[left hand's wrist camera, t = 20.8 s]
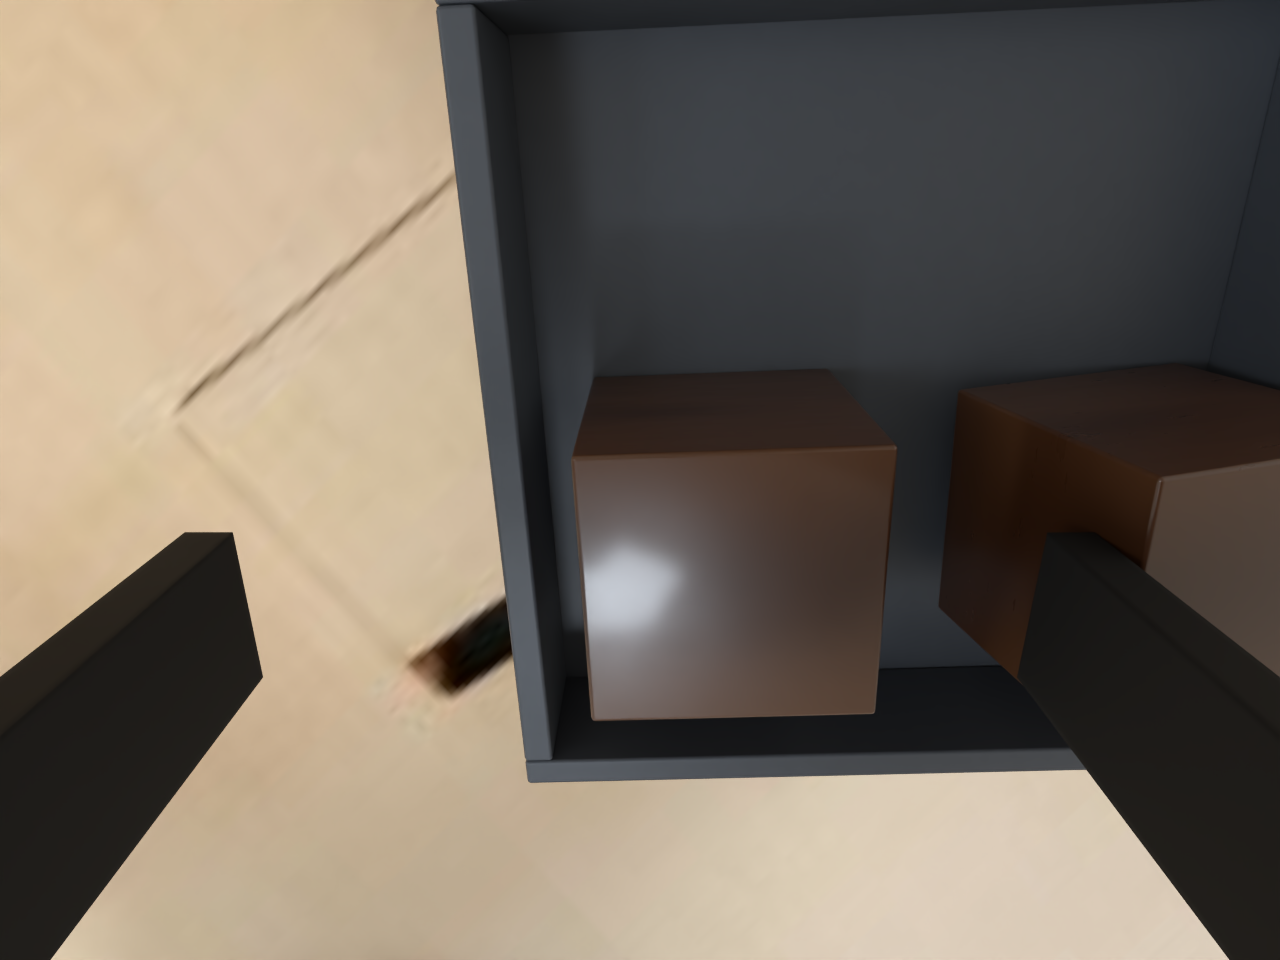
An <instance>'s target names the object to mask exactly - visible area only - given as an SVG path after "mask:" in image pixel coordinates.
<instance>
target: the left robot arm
mask: <svg viewBox="0 0 1280 960" xmlns="http://www.w3.org/2000/svg"><path fill="white" fill-rule="evenodd" d="M262 678H263V675H262V670H261V665H260V661H259V656H258V651H257V646H256V641H255V637H254V632H253V627H252V622H251V618H250V613H249V608H248V603H247V598H246V594H245V589H244V584H243V579H242V575H241V570H240V565H239V560H238V555H237V551H236V546H235V541H234V536H233V532H185V533H183V534H182V535H181V536H180V537H178V538H177V539H176V540H174V541H173V542H172V543H171V544H169V545H168V546H167V547H166V548H164V549H163V550H162V551H160V552H159V553H158V554H157V555H155V556H154V557H153V558H152V559H150V560H149V561H148V562H146V563H145V564H144V565H143V566H141V567H140V568H139V569H137V570H136V571H135V572H134V573H132V574H131V575H130V576H129V577H127V578H126V579H125V580H123V581H122V582H121V583H120V584H118V585H117V586H116V587H114V588H113V589H112V590H111V591H109V592H108V593H107V594H106V595H104V596H103V597H102V598H100V599H99V600H98V601H97V602H95V603H94V604H93V605H91V606H90V607H89V608H88V609H86V610H85V611H84V612H83V613H81V614H80V615H79V616H77V617H76V618H75V619H74V620H72V621H71V622H70V623H68V624H67V625H66V626H65V627H63V628H62V629H61V630H60V631H58V632H57V633H56V634H54V635H53V636H52V637H51V638H49V639H48V640H47V641H45V642H44V643H43V644H42V645H40V646H39V647H38V648H37V649H35V650H34V651H33V652H31V653H30V654H29V655H28V656H26V657H25V658H24V659H23V660H21V661H20V662H19V663H17V664H16V665H15V666H14V667H12V668H11V669H10V670H8V671H7V672H6V673H5V674H3V675H2V676H1V677H0V960H51V958H52V957H53V956H54V954H55V953H56V952H57V950H58V949H59V948H60V946H61V945H62V944H63V942H64V941H65V940H66V938H67V937H68V936H69V934H70V933H71V932H72V930H73V929H74V928H75V926H76V925H77V924H78V922H79V921H80V920H81V918H82V917H83V916H84V915H85V913H86V912H87V911H88V909H89V908H90V907H91V905H92V904H93V903H94V901H95V900H96V899H97V897H98V896H99V895H100V893H101V892H102V891H103V889H104V888H105V887H106V885H107V884H108V883H109V881H110V880H111V879H112V877H113V876H114V875H115V873H116V872H117V871H118V869H119V868H120V867H121V865H122V864H123V863H124V861H125V860H126V859H127V857H128V856H129V855H130V853H131V852H132V851H133V849H134V848H135V847H136V845H137V844H138V843H139V841H140V840H141V839H142V837H143V836H144V835H145V833H146V832H147V831H148V829H149V828H150V827H151V825H152V824H153V823H154V821H155V820H156V819H157V817H158V816H159V815H160V813H161V812H162V811H163V809H164V808H165V807H166V805H167V804H168V803H169V802H170V800H171V799H172V798H173V796H174V795H175V794H176V792H177V791H178V790H179V788H180V787H181V786H182V784H183V783H184V782H185V780H186V779H187V778H188V776H189V775H190V774H191V772H192V771H193V770H194V768H195V767H196V766H197V764H198V763H199V762H200V760H201V759H202V758H203V756H204V755H205V754H206V752H207V751H208V750H209V748H210V747H211V746H212V744H213V743H214V742H215V740H216V739H217V738H218V736H219V735H220V734H221V732H222V731H223V730H224V728H225V727H226V726H227V724H228V723H229V722H230V720H231V719H232V718H233V716H234V715H235V714H236V712H237V711H238V710H239V708H240V707H241V706H242V704H243V703H244V702H245V700H246V699H247V698H248V696H249V695H250V694H251V692H252V691H253V690H254V689H255V687H256V686H257V685H258V683H259V682H260V681H261V679H262ZM1017 678H1018V679H1019V681H1020V682H1021V683H1022V685H1023V686H1024V687H1025V689H1026V690H1027V691H1028V693H1029V694H1030V695H1031V697H1032V698H1033V699H1034V701H1035V702H1036V703H1037V705H1038V706H1039V707H1040V709H1041V710H1042V711H1043V713H1044V714H1045V715H1046V717H1047V718H1048V719H1049V721H1050V722H1051V723H1052V725H1053V726H1054V727H1055V729H1056V730H1057V731H1058V733H1059V734H1060V735H1061V737H1062V738H1063V739H1064V740H1065V742H1066V743H1067V744H1068V746H1069V747H1070V748H1071V750H1072V751H1073V752H1074V754H1075V755H1076V756H1077V758H1078V759H1079V760H1080V762H1081V763H1082V764H1083V766H1084V767H1085V768H1086V770H1087V771H1088V772H1089V774H1090V775H1091V776H1092V778H1093V779H1094V780H1095V782H1096V783H1097V784H1098V786H1099V787H1100V788H1101V790H1102V791H1103V792H1104V794H1105V795H1106V796H1107V798H1108V799H1109V800H1110V802H1111V803H1112V804H1113V806H1114V807H1115V808H1116V810H1117V811H1118V812H1119V814H1120V815H1121V816H1122V818H1123V819H1124V820H1125V822H1126V823H1127V824H1128V826H1129V827H1130V828H1131V830H1132V831H1133V832H1134V834H1135V835H1136V836H1137V838H1138V839H1139V840H1140V842H1141V843H1142V844H1143V845H1144V847H1145V848H1146V849H1147V851H1148V852H1149V853H1150V855H1151V856H1152V857H1153V859H1154V860H1155V861H1156V863H1157V864H1158V865H1159V867H1160V868H1161V869H1162V871H1163V872H1164V873H1165V875H1166V876H1167V877H1168V879H1169V880H1170V881H1171V883H1172V884H1173V885H1174V887H1175V888H1176V889H1177V891H1178V892H1179V893H1180V895H1181V896H1182V897H1183V899H1184V900H1185V901H1186V903H1187V904H1188V905H1189V907H1190V908H1191V909H1192V911H1193V912H1194V913H1195V915H1196V916H1197V917H1198V919H1199V920H1200V921H1201V923H1202V924H1203V925H1204V927H1205V928H1206V929H1207V931H1208V932H1209V933H1210V935H1211V936H1212V937H1213V939H1214V940H1215V941H1216V943H1217V944H1218V945H1219V947H1220V948H1221V949H1222V950H1223V952H1224V953H1225V954H1226V956H1227V957H1228V958H1229V960H1280V677H1279V676H1278V675H1277V674H1275V673H1274V672H1273V671H1271V670H1270V669H1269V668H1268V667H1266V666H1265V665H1264V664H1263V663H1261V662H1260V661H1259V660H1257V659H1256V658H1255V657H1254V656H1252V655H1251V654H1250V653H1248V652H1247V651H1246V650H1245V649H1243V648H1242V647H1241V646H1240V645H1238V644H1237V643H1236V642H1234V641H1233V640H1232V639H1231V638H1229V637H1228V636H1227V635H1225V634H1224V633H1223V632H1222V631H1220V630H1219V629H1218V628H1217V627H1215V626H1214V625H1213V624H1211V623H1210V622H1209V621H1208V620H1206V619H1205V618H1204V617H1202V616H1201V615H1200V614H1199V613H1197V612H1196V611H1195V610H1194V609H1192V608H1191V607H1190V606H1188V605H1187V604H1186V603H1185V602H1183V601H1182V600H1181V599H1179V598H1178V597H1177V596H1176V595H1174V594H1173V593H1172V592H1171V591H1169V590H1168V589H1167V588H1165V587H1164V586H1163V585H1162V584H1160V583H1159V582H1158V581H1156V580H1155V579H1154V578H1153V577H1151V576H1150V575H1149V574H1148V573H1146V572H1145V571H1144V570H1142V569H1141V568H1140V567H1139V566H1137V565H1136V564H1135V563H1133V562H1132V561H1131V560H1130V559H1128V558H1127V557H1126V556H1125V555H1123V554H1122V553H1121V552H1119V551H1118V550H1117V549H1116V548H1114V547H1113V546H1112V545H1110V544H1109V543H1108V542H1107V541H1105V540H1104V539H1103V538H1102V537H1100V536H1099V535H1098V534H1096V533H1095V532H1047V536H1046V541H1045V545H1044V550H1043V555H1042V560H1041V564H1040V569H1039V574H1038V579H1037V584H1036V588H1035V593H1034V598H1033V603H1032V608H1031V612H1030V617H1029V622H1028V627H1027V631H1026V636H1025V641H1024V646H1023V651H1022V655H1021V660H1020V665H1019V670H1018V674H1017Z"/></svg>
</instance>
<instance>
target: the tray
mask: <svg viewBox="0 0 1280 960" xmlns="http://www.w3.org/2000/svg"><path fill="white" fill-rule="evenodd" d="M435 1H436V3H437V4H438V5H439V6H438V7H437V10H436V14H437V22H438V31H439V39H440V48H441V56H442V64H443V73H444V81H445V89H446V98H447V106H448V115H449V123H450V131H451V140H452V148H453V157H454V165H455V173H456V182H457V190H458V199H459V207H460V215H461V224H462V232H463V241H464V249H465V257H466V266H467V274H468V283H469V291H470V299H471V308H472V316H473V325H474V333H475V341H476V350H477V358H478V366H479V375H480V383H481V392H482V400H483V408H484V417H485V425H486V434H487V442H488V450H489V459H490V467H491V476H492V484H493V492H494V501H495V509H496V518H497V526H498V534H499V543H500V551H501V560H502V568H503V576H504V585H505V593H506V602H507V610H508V618H509V627H510V635H511V644H512V652H513V660H514V669H515V677H516V685H517V694H518V702H519V711H520V719H521V727H522V736H523V744H524V753H525V758H526V769H527V778H528V781H529V782H530V783H539V782H582V781H624V780H667V779H709V778H752V777H794V776H837V775H879V774H922V773H964V772H1007V771H1049V770H1086V768H1085V767H1084V766H1083V764H1082V763H1081V762H1080V760H1079V759H1078V758H1077V756H1076V755H1075V754H1074V752H1073V751H1072V750H1071V748H1070V747H1069V746H1068V744H1067V743H1066V742H1065V740H1064V739H1063V738H1062V737H1061V735H1060V734H1059V733H1058V731H1057V730H1056V729H1055V727H1054V726H1053V725H1052V723H1051V722H1050V721H1049V719H1048V718H1047V717H1046V715H1045V714H1044V713H1043V711H1042V710H1041V709H1040V707H1039V706H1038V705H1037V703H1036V702H1035V701H1034V699H1033V698H1032V697H1031V695H1030V694H1029V693H1028V691H1027V690H1026V689H1025V687H1024V686H1023V685H1022V684H1021V683H1020V682H1019V681H1018V680H1017V679H1015V678H1014V677H1013V676H1012V675H1011V674H1010V673H1009V672H1008V671H1007V670H1006V669H1005V668H1003V667H1002V666H1001V665H1000V664H999V663H998V662H997V661H996V660H995V659H994V658H993V657H992V656H990V655H989V654H988V653H987V652H986V651H985V650H984V649H983V648H982V647H981V646H980V645H979V644H977V643H976V642H975V641H974V640H973V639H972V638H971V637H970V636H969V635H968V634H967V633H966V632H964V631H963V630H962V629H961V628H960V627H959V626H958V625H957V624H956V623H955V622H954V621H952V620H951V619H950V618H949V617H948V616H947V615H946V614H945V613H944V612H943V611H942V610H941V609H939V606H938V602H939V591H940V580H941V570H942V559H943V548H944V537H945V527H946V516H947V505H948V494H949V484H950V473H951V462H952V451H953V441H954V430H955V419H956V408H957V398H958V392H959V390H962V389H969V388H977V387H985V386H993V385H1001V384H1010V383H1018V382H1026V381H1034V380H1042V379H1050V378H1058V377H1067V376H1075V375H1083V374H1091V373H1099V372H1107V371H1115V370H1123V369H1132V368H1140V367H1148V366H1156V365H1164V364H1172V363H1178V364H1182V365H1186V366H1189V367H1193V368H1197V369H1201V370H1204V371H1208V372H1212V373H1216V374H1220V375H1223V376H1227V377H1231V378H1235V379H1239V380H1242V381H1246V382H1250V383H1254V384H1257V385H1261V386H1265V387H1269V388H1273V389H1276V390H1280V0H435ZM806 369H828V370H829V371H830V372H831V373H832V374H833V375H834V376H835V377H836V378H837V380H838V381H839V382H840V383H841V384H842V385H843V386H844V387H845V388H846V390H847V391H848V392H849V393H850V394H851V395H852V396H853V397H854V398H855V400H856V401H857V402H858V403H859V404H860V405H861V406H862V407H863V409H864V410H865V411H866V412H867V413H868V414H869V415H870V416H871V417H872V419H873V420H874V421H875V422H876V423H877V424H878V425H879V426H880V427H881V429H882V430H883V431H884V432H885V433H886V434H887V435H888V436H889V437H890V439H891V440H892V441H893V442H894V443H895V444H896V445H897V448H898V450H897V461H896V473H895V485H894V497H893V509H892V520H891V532H890V544H889V556H888V567H887V579H886V591H885V603H884V614H883V626H882V638H881V650H880V661H879V673H878V685H877V697H876V708H875V712H874V713H873V714H848V715H809V716H770V717H732V718H693V719H654V720H616V721H594V720H593V719H592V717H591V709H590V696H589V684H588V671H587V658H586V645H585V633H584V620H583V607H582V595H581V582H580V569H579V556H578V544H577V531H576V518H575V506H574V493H573V480H572V467H571V458H572V454H573V450H574V447H575V443H576V439H577V436H578V432H579V428H580V425H581V421H582V417H583V414H584V410H585V407H586V403H587V399H588V396H589V392H590V388H591V385H592V381H593V378H596V377H619V376H646V375H673V374H699V373H726V372H753V371H779V370H806Z"/></svg>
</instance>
